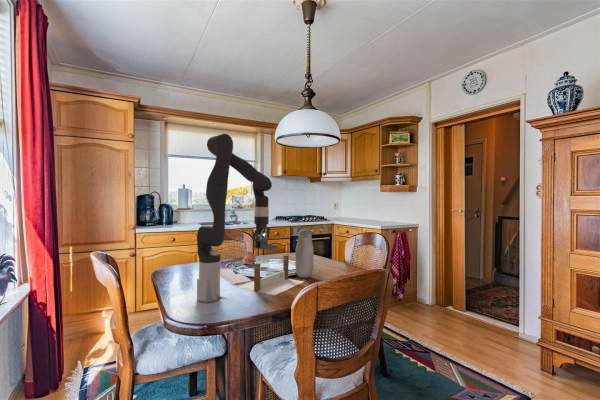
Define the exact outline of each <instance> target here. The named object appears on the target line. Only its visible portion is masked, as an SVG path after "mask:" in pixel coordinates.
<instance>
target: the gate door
mask: <svg viewBox="0 0 600 400" xmlns="http://www.w3.org/2000/svg"><path fill="white" fill-rule="evenodd" d="M284 279H285V271H283V270H280V271H278V272H275V273H271V274H269V275H267V276H264V278H263V277H260V289H262V288H264V287H267V286H269V285H272V284H274V283H277V282H279V281H282V280H284Z"/></svg>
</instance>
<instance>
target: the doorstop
mask: <svg viewBox="0 0 600 400" xmlns="http://www.w3.org/2000/svg"><path fill="white" fill-rule="evenodd" d="M258 239H259V237H258ZM254 249H257V250H258V249H259V250H267V251H275V250H277V249H278V244H270V243H269V238H262V237H261V239H260V248H256V241H255V240H254Z"/></svg>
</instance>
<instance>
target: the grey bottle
mask: <svg viewBox="0 0 600 400" xmlns="http://www.w3.org/2000/svg"><path fill="white" fill-rule="evenodd" d="M314 249H315V248H314V244H313V237H312V231H311V230H310V229H308V228H302V229H300V230H299V232H298V236H297V243H296V247H295V257H294V258H295V273H296V276H297V277H298V278H301V279H308V278H310V277H311V276H312V275H313V272H314V254H315V253H314V251H315V250H314Z"/></svg>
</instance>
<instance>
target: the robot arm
mask: <svg viewBox="0 0 600 400" xmlns="http://www.w3.org/2000/svg"><path fill="white" fill-rule="evenodd" d="M206 147H207V149H208V151H209V152H210V153H211V154H212V155H214V156H215V162H214V165H213V167H212V170H211V172H210V174H209V176H208V178H207V182H206V187H205V198H206V200H207V203H208V205H209V207H210V209H211V212H212V215H213V224H204V225H203V224H202V225H200V226H199V228H198V230H197V233H196V246H197V247H196V248H197V256H198V278H197V280H196V301H199V302H202V303H213V302H217V301H218V300H220V299H221V275H220V270H221V254H220V253H219V252H218V251H216V250H214V249H213V248H212V247H221V246H222V245H223V243H224V241H225V235H226V231H225V230H226V204H227V203H226V202H227V195H228V184H229V183H228V182H229V174H230V167H231V168H233V169H234V170H235V171H237V172H238V173H239V174H240V175H241V176H242V177H243V178H245V179H246V180H247V181H248V182H251V183H252V191H253V195H254V214H253V215H254V218H253V220H254V223H253V224H254V225H255V228H252V229H251V231H252V232H251V233H252V239H253V241H254V242H255V241H256V248H260V239H261V238H268V239H269V238H270V234H271V233H270V232H271V227H270V226H267V225H269V222H270V221H269V217H270V216H269V215H270V209H269V196H268V195H265V192H268V191H269V190H271V188H272V184H273V183H272V181H271V179H270V178H269V177H268V176H266V175H265V174H264V173H262V172H260V171H258V170H257V169H256V168H255V167H254V165H252V164H251V163H250V162H248V160H245V159H243V158H242V157H239V156H238V155H236V154H234V153H233V150H234V140H233V138H232V137H231V135H229V134H227V133H220V134H217V135H213V136H210V137H209V138H208V139H207V141H206ZM258 238H259V239H258ZM256 248H255V249H256Z"/></svg>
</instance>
